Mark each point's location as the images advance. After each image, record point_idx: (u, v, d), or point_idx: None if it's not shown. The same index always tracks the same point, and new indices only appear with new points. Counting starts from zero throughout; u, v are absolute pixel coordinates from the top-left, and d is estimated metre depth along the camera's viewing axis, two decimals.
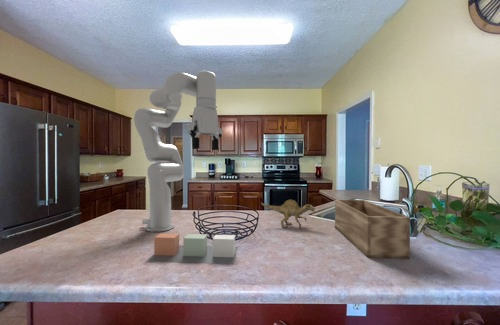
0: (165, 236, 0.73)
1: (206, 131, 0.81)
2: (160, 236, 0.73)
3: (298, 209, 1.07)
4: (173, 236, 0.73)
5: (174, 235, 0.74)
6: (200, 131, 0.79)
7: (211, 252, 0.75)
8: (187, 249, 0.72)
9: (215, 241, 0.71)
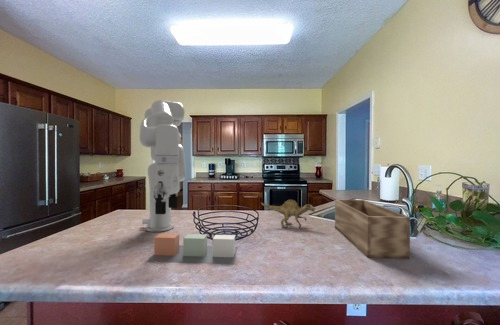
0: (165, 236, 0.73)
1: None
2: (160, 236, 0.73)
3: (298, 209, 1.07)
4: (173, 236, 0.73)
5: (174, 235, 0.74)
6: None
7: (211, 252, 0.75)
8: (187, 249, 0.72)
9: (215, 241, 0.71)
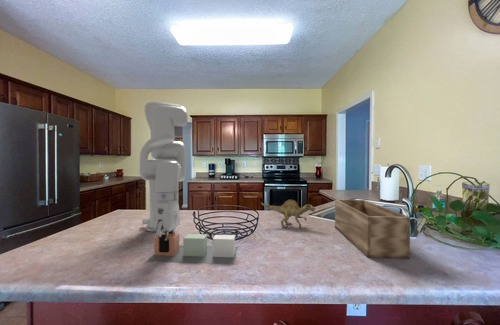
0: None
1: None
2: None
3: (298, 209, 1.07)
4: (173, 236, 0.73)
5: (174, 235, 0.74)
6: None
7: (211, 252, 0.75)
8: (187, 249, 0.72)
9: (215, 241, 0.71)
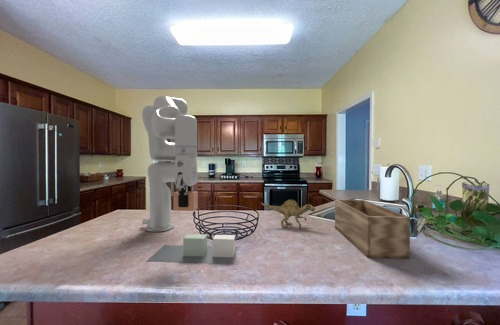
0: None
1: None
2: None
3: (298, 209, 1.07)
4: (192, 192, 0.73)
5: (193, 191, 0.74)
6: None
7: (211, 252, 0.75)
8: (187, 249, 0.72)
9: (215, 241, 0.71)
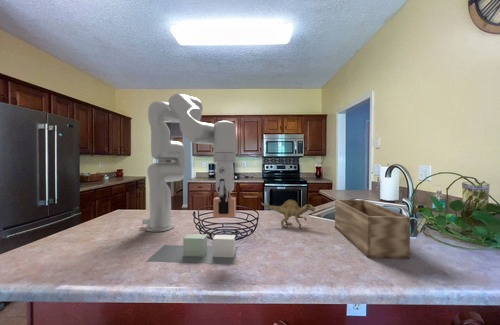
0: None
1: None
2: None
3: (298, 209, 1.07)
4: (231, 198, 0.72)
5: (232, 198, 0.73)
6: None
7: (211, 252, 0.75)
8: (187, 249, 0.72)
9: (215, 241, 0.71)
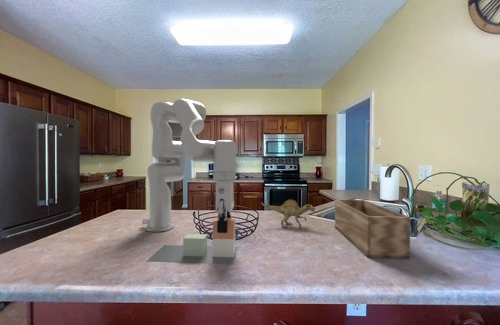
0: None
1: None
2: None
3: (298, 209, 1.07)
4: (231, 220, 0.72)
5: (231, 219, 0.73)
6: None
7: (211, 252, 0.75)
8: (187, 249, 0.72)
9: (215, 241, 0.71)
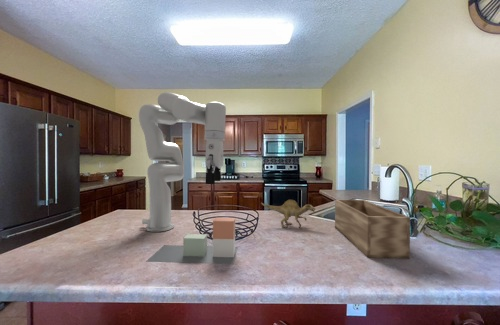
0: (223, 220, 0.72)
1: None
2: (219, 220, 0.72)
3: (298, 209, 1.07)
4: (231, 220, 0.72)
5: (231, 219, 0.73)
6: None
7: (211, 252, 0.75)
8: (187, 249, 0.72)
9: (215, 241, 0.71)
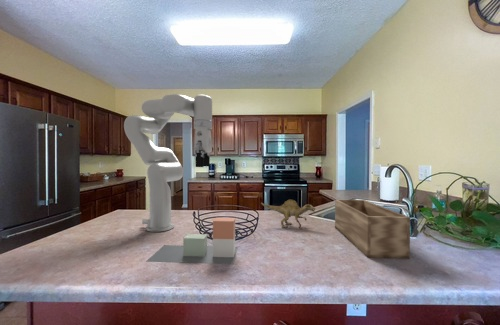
0: (223, 220, 0.72)
1: None
2: (219, 220, 0.72)
3: (298, 209, 1.07)
4: (231, 220, 0.72)
5: (231, 219, 0.73)
6: None
7: (211, 252, 0.75)
8: (187, 249, 0.72)
9: (215, 241, 0.71)
